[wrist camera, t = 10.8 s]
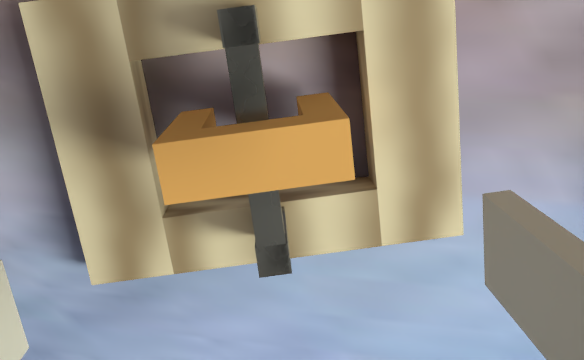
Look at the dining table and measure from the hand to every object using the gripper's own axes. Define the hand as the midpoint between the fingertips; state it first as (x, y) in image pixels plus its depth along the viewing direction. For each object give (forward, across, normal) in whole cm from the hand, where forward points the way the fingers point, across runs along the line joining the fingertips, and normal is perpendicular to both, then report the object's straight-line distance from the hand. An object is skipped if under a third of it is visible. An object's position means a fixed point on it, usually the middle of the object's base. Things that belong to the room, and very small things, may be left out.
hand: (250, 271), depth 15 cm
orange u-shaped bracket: (+20, 0, 0) cm, 20 cm away
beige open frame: (+23, 0, 0) cm, 23 cm away
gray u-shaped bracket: (+23, 0, 0) cm, 23 cm away
